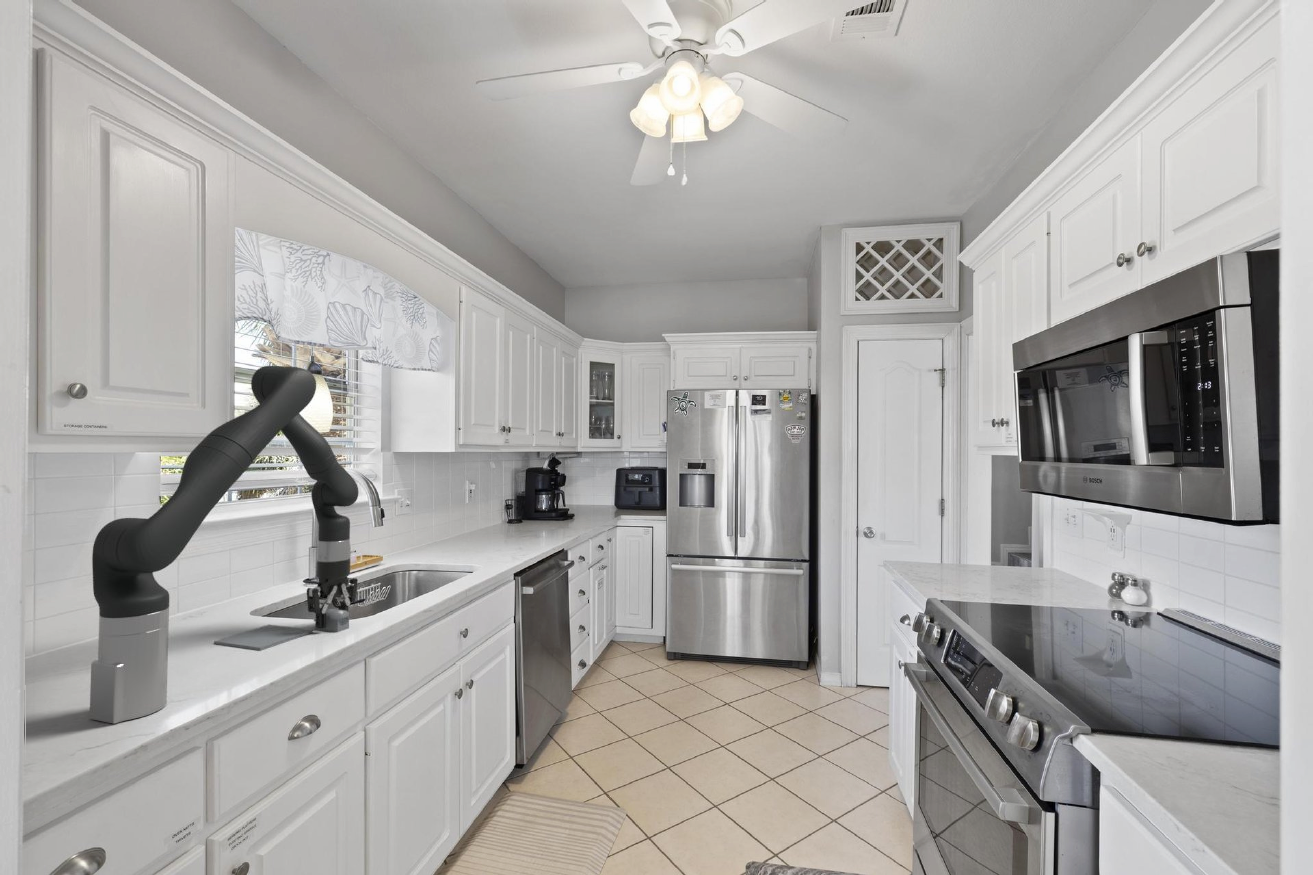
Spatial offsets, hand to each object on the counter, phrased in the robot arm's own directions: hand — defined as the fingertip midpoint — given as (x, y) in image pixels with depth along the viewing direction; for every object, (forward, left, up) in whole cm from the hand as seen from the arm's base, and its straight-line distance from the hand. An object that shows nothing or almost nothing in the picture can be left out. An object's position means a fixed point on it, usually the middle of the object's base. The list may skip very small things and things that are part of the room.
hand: (332, 624), depth 152 cm
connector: (0, 0, -1) cm, 1 cm away
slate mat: (-11, +9, -1) cm, 14 cm away
